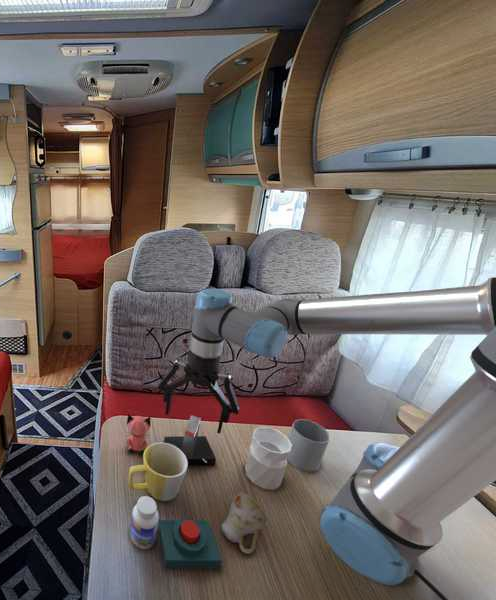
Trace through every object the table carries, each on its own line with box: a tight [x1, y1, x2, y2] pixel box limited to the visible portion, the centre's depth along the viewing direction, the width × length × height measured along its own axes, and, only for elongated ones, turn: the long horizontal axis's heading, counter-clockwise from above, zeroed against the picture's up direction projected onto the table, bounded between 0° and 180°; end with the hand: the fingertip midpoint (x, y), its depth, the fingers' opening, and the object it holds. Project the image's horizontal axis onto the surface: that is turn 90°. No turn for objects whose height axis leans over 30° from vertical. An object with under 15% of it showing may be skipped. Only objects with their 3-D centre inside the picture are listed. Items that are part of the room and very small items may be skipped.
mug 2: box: [221, 492, 268, 555], centre depth 71 cm, size 8×10×10 cm
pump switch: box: [157, 517, 222, 568], centre depth 68 cm, size 11×8×4 cm
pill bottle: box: [130, 495, 160, 550], centre depth 69 cm, size 5×5×10 cm
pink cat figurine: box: [126, 413, 151, 456], centre depth 90 cm, size 7×7×12 cm
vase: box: [244, 426, 292, 491], centre depth 83 cm, size 9×9×12 cm
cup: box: [287, 418, 331, 473], centre depth 89 cm, size 8×8×10 cm
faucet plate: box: [163, 435, 217, 467], centre depth 91 cm, size 12×11×3 cm
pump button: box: [180, 520, 199, 544], centre depth 67 cm, size 4×4×2 cm
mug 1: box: [127, 442, 189, 502], centre depth 79 cm, size 14×10×10 cm
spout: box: [182, 415, 202, 459], centre depth 89 cm, size 8×3×8 cm, turn 152°
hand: (192, 420), depth 87 cm, fingers open, 13 cm apart
